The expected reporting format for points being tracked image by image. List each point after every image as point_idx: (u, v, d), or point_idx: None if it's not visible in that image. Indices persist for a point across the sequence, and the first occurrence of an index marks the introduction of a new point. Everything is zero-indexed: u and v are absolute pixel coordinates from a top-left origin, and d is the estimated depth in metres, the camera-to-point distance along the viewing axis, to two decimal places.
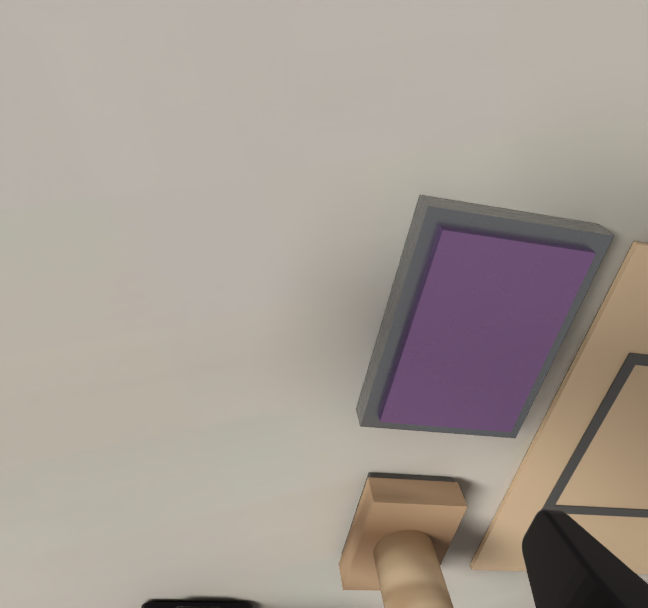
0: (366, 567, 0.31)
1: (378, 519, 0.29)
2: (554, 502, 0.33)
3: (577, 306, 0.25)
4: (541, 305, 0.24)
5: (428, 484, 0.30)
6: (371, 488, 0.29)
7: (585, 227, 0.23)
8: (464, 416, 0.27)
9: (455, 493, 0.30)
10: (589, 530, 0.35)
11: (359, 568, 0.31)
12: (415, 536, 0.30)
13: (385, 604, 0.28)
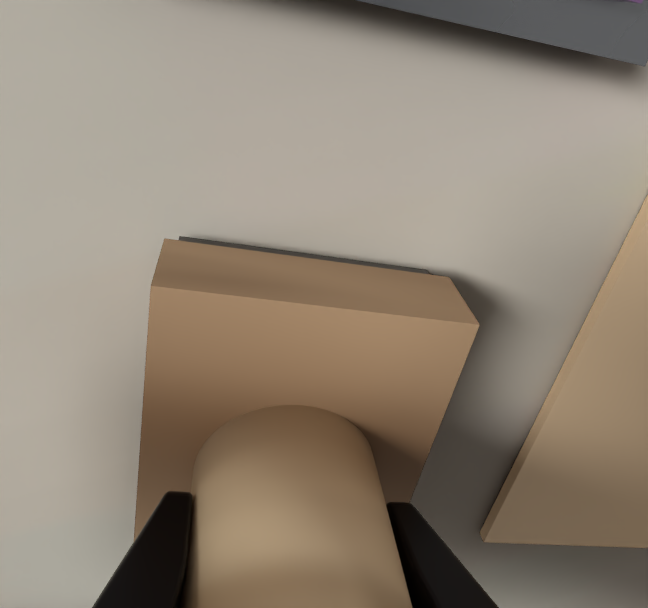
0: None
1: (184, 360, 0.09)
2: None
3: None
4: None
5: (359, 271, 0.10)
6: (162, 258, 0.09)
7: None
8: None
9: (440, 296, 0.10)
10: None
11: None
12: (312, 423, 0.09)
13: None
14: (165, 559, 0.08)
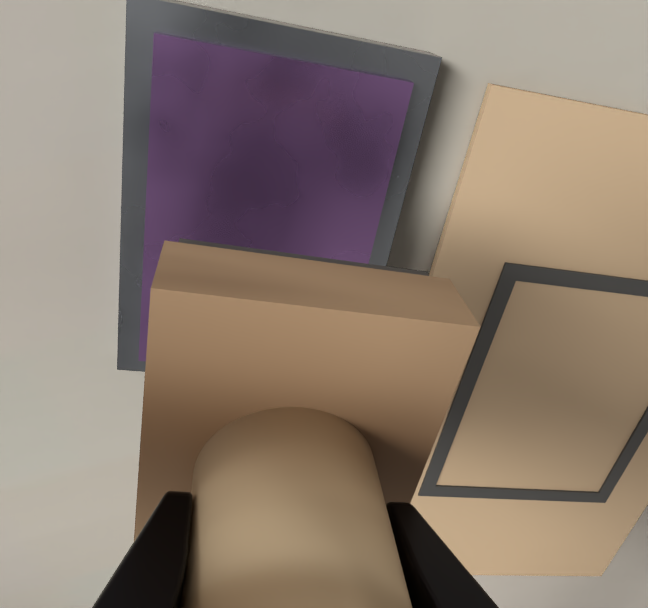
0: None
1: (184, 363, 0.09)
2: (434, 481, 0.25)
3: (407, 181, 0.17)
4: (344, 172, 0.16)
5: (359, 273, 0.10)
6: (161, 261, 0.09)
7: (400, 48, 0.16)
8: None
9: (440, 298, 0.10)
10: (489, 519, 0.26)
11: None
12: (312, 425, 0.09)
13: None
14: (165, 559, 0.08)
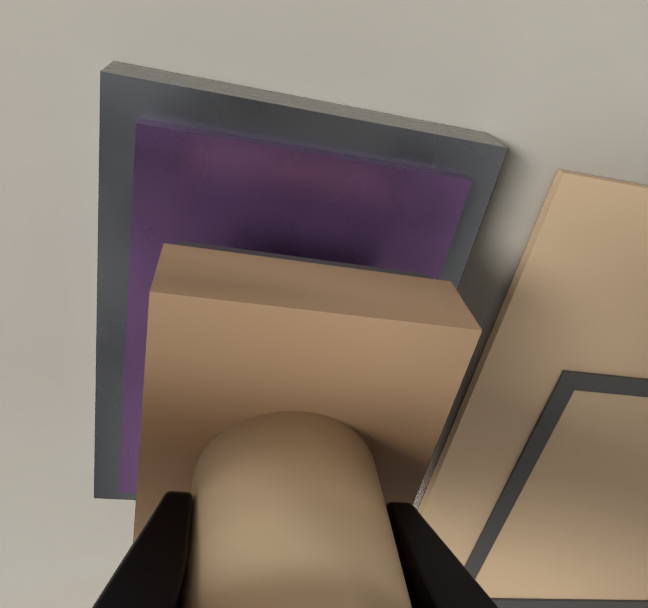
0: None
1: (183, 367, 0.09)
2: None
3: None
4: None
5: (360, 276, 0.10)
6: (161, 264, 0.09)
7: (455, 133, 0.12)
8: None
9: (442, 300, 0.10)
10: None
11: None
12: (312, 429, 0.09)
13: None
14: (165, 559, 0.08)
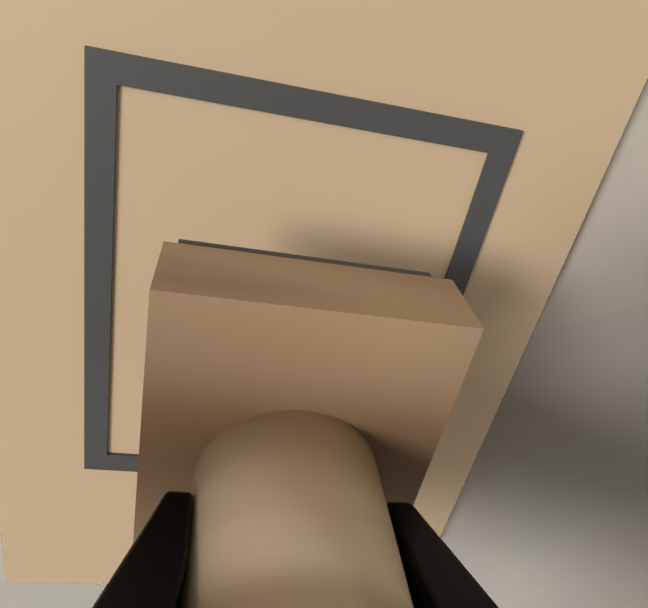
0: None
1: (183, 365, 0.09)
2: (105, 447, 0.16)
3: None
4: None
5: (361, 274, 0.10)
6: (161, 262, 0.09)
7: None
8: None
9: (444, 299, 0.10)
10: None
11: None
12: (313, 428, 0.09)
13: None
14: (165, 559, 0.08)
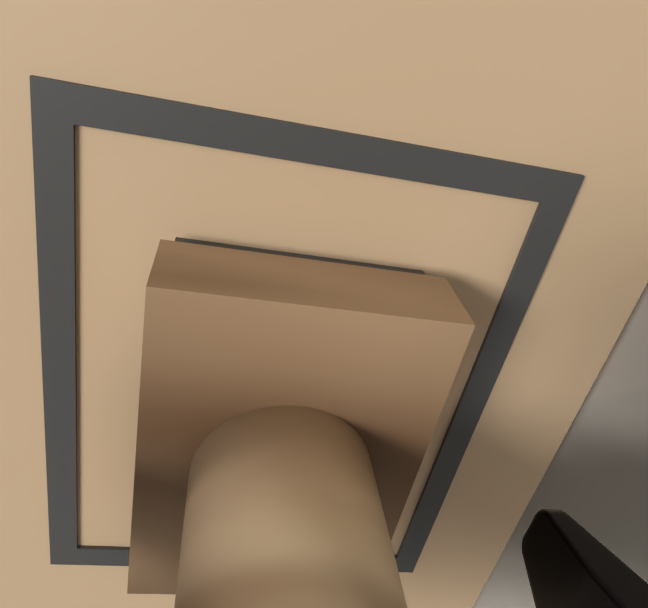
0: (180, 530, 0.11)
1: (179, 361, 0.09)
2: (74, 539, 0.14)
3: None
4: None
5: (355, 272, 0.10)
6: (157, 259, 0.09)
7: None
8: None
9: (436, 296, 0.10)
10: None
11: (158, 531, 0.11)
12: (307, 423, 0.09)
13: None
14: None
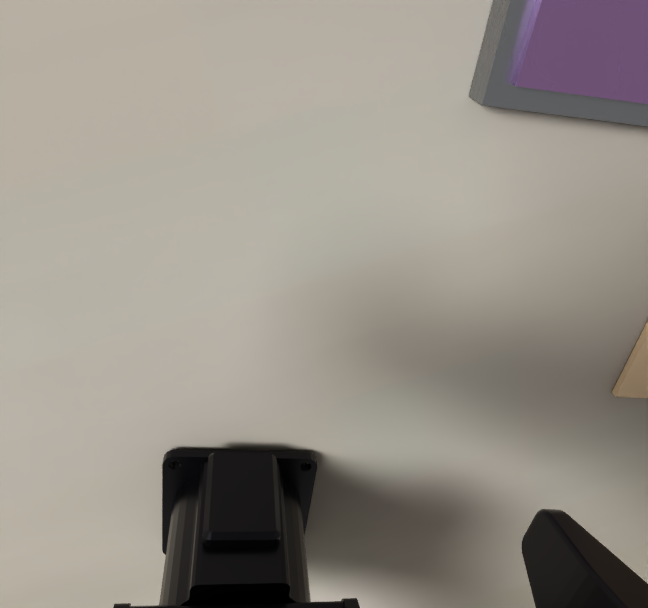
0: None
1: None
2: None
3: None
4: None
5: None
6: None
7: None
8: None
9: None
10: None
11: None
12: None
13: None
14: None
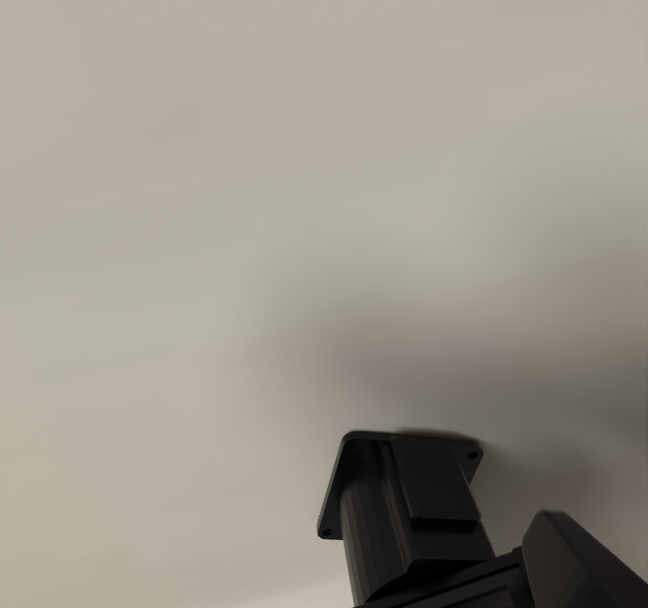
0: None
1: None
2: None
3: None
4: None
5: None
6: None
7: None
8: None
9: None
10: None
11: None
12: None
13: None
14: None
